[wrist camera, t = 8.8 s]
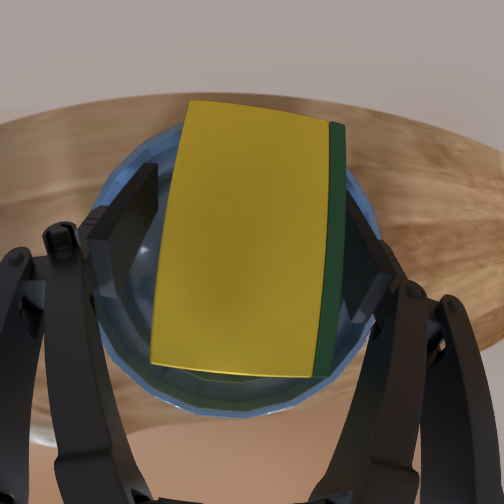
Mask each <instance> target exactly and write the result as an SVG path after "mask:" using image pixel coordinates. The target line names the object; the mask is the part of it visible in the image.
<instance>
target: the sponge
mask: <svg viewBox="0 0 504 504" xmlns="http://www.w3.org/2000/svg"><path fill="white" fill-rule="evenodd" d="M345 218H346V139H345V125H343V124H340V123H336V122H328V121H326V120H322V119H318V118H313V117H309V116H304V115H299V114H294V113H289V112H283V111H278V110H272V109H266V108H260V107H253V106H246V105H238V104H230V103H221V102H211V101H200V100H191V101H190V102H189V106H188V110H187V114H186V118H185V122H184V126H183V130H182V134H181V139H180V143H179V148H178V152H177V157H176V161H175V166H174V171H173V176H172V181H171V186H170V191H169V197H168V202H167V208H166V214H165V220H164V226H163V233H162V239H161V246H160V253H159V261H158V269H157V277H156V286H155V295H154V305H153V316H152V328H151V342H150V363H152V364H155V365H161V366H168V367H174V368H182V369H189V370H197V371H206V372H215V373H225V374H237V375H251V376H269V377H304V378H309V377H311V376H312V377H314V378H329V377H330V376H331V371H332V364H333V357H334V350H335V343H336V335H337V326H338V317H339V308H340V298H341V287H342V274H343V260H344V242H345Z"/></svg>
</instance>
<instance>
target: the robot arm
mask: <svg viewBox="0 0 504 504" xmlns="http://www.w3.org/2000/svg"><path fill="white" fill-rule="evenodd" d="M157 211H158V163H146V162H144V163H143V164H142V165H141V167H140V168H139V169H138V170H137V171H136V173H135V174H134V175H133V176H132V177H131V179H130V180H129V181H128V182H127V183H126V185H125V186H124V187H123V188H122V190H121V191H120V192H119V193H118V195H117V196H116V197H115V198H114V200H113V201H112V202H111V204H110V205H109V206H105V205H100V206H98V207H97V208H95V209H94V210H92V211H91V212H90V213H89V215H88V216H87V217H86V219H85V220H84V221H83V222H82V225H80V226H79V228H78V229H77V227H76V225H75V224H74V223H72V222H67V221H65V222H59V223H55V224H53V225H51V226H50V227H48V228H47V229H46V230H45V231H44V233H43V235H42V237H43V241H44V244H45V248H46V251H47V254H48V255H47V256H39V257H32V255H31V252H30V250H29V249H28V248H26V247H18V248H14V249H12V250H11V251H9V252H8V253H7V254H6V255H5V256H4V258H3V259H2V261H1V263H0V504H28V497H29V432H30V418H31V407H32V398H33V390H34V382H35V376H36V370H37V364H38V358H39V353H40V348H41V343H42V339H43V334H44V346H45V364H46V377H47V387H48V395H49V403H50V410H51V416H52V422H53V427H54V433H55V437H56V442H57V447H58V457H57V458H56V460H55V461H54V470H55V476H56V480H57V483H58V487H59V490H60V493H61V496H62V499H63V502H64V504H202V503H195V502H186V501H179V500H172V499H166V498H160V497H159V500H154V499H153V497H152V495H151V493H150V491H149V488H148V486H147V484H146V482H145V480H144V478H143V476H142V474H141V472H140V471H139V469H138V467H137V465H136V462H135V460H134V457H133V455H132V452H131V449H130V446H129V443H128V441H127V437H126V434H125V431H124V428H123V425H122V422H121V419H120V415H119V412H118V408H117V405H116V401H115V398H114V394H113V390H112V386H111V382H110V378H109V374H108V369H107V365H106V360H105V355H104V350H103V345H102V340H101V334H100V328H99V322H98V316H97V309H96V301H95V298H94V294H93V293H94V291H95V289H96V287H97V286H98V289H99V293H100V295H101V296H106V297H112V298H118V297H119V294H120V292H121V289H122V287H123V284H124V282H125V280H126V277H127V275H128V273H129V270H130V268H131V266H132V264H133V261H134V259H135V257H136V255H137V253H138V250H139V248H140V246H141V244H142V242H143V240H144V238H145V236H146V233H147V231H148V229H149V227H150V225H151V223H152V221H153V219H154V217H155V215H156V213H157ZM397 261H398V260H397V258H396V257H395V256H394V253H393V251H392V250H391V248H390V247H389V246H388V245H387V244H386V243H385V242H384V241H383V240H381V239H377V237H376V235H375V233H374V232H373V230H372V228H371V226H370V225H369V223H368V221H367V220H366V218H365V216H364V215H363V213H362V211H361V210H360V208H359V206H358V205H357V203H356V202H355V200H354V198H353V197H352V195H351V194H350V192H349V191H348V190H346V218H345V242H344V260H343V274H342V287H341V292H342V295H343V299H344V302H345V305H346V309H347V312H348V315H349V319H350V322H351V323H367V322H368V320H369V319H370V317H371V316H372V314H373V315H374V317H375V320H376V321H375V323H374V324H373V326H372V327H371V329H370V330H369V332H368V333H367V335H366V336H365V338H364V340H365V341H366V340H367V338H368V337H369V341H368V345H367V349H366V353H365V357H364V361H363V365H362V369H361V372H360V376H359V379H358V383H357V386H356V390H355V393H354V396H353V400H352V403H351V406H350V409H349V412H348V415H347V418H346V421H345V424H344V427H343V430H342V433H341V436H340V438H339V441H338V444H337V446H336V449H335V452H334V454H333V457H332V460H331V462H330V464H329V467H328V469H327V471H326V473H325V475H324V477H323V478H322V479H321V480H320V482H318V484H317V485H316V486H315V488H314V490H313V491H312V493H311V495H310V497H309V500H308V501H307V502H305V503H295V504H414V502H415V498H416V495H417V491H418V487H419V480H420V478H419V474H418V472H416V471H415V470H414V469H413V468H412V461H413V456H414V451H415V446H416V441H417V435H418V430H419V424H420V433H421V486H420V504H504V493H503V490H502V486H501V469H500V455H499V445H498V436H497V429H496V422H495V416H494V410H493V406H492V400H491V395H490V391H489V386H488V382H487V378H486V374H485V370H484V366H483V362H482V359H481V355H480V352H479V348H478V345H477V342H476V339H475V336H474V333H473V330H472V327H471V324H470V321H469V318H468V315H467V313H466V310H465V308H464V306H463V304H462V303H461V302H460V300H459V299H458V298H456V297H455V296H452V295H449V294H446V295H444V296H443V297H442V298H441V300H440V301H439V302H438V301H435V300H432V299H429V298H427V295H426V292H425V291H424V289H423V288H422V287H421V286H420V285H419V284H417V283H416V282H414V281H411V280H408V279H407V277H406V275H405V273H404V271H403V269H402V267H401V266H400V264H399V262H397ZM443 341H445V345H446V347H445V348H444V349H443V350H442V351H441V349H440V345H441V344H442V343H443Z"/></svg>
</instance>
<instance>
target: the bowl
mask: <svg viewBox="0 0 504 504" xmlns="http://www.w3.org/2000/svg"><path fill="white" fill-rule="evenodd" d="M184 122H185V121H184ZM184 122H182V123H180V124H178V125H176V126H174V127H172V128H170V129H168V130H166V131H164V132H162V133H160V134H158V135H156V136H154V137H152V138H150V139H148V140H146V141H144V142H143V143H142V144H141V145H140V146H139V147H138V148H137V149H135V150H134V151H133V152H132V153H131V154H130V155H129V156H128V157H127V158H126V159H125V160H124V161H123V162H122V163H121V164H120V165H119V166H118V167H117V168H116V169H115V170H114V171H113V172H112V173H111V174H110V176H109V177H108V179H107V181H106V183H105V184H104V186H103V188H102V190H101V192H100V194H99V196H98V198H97V199H96V201H95V203H94V205H93V207H92V209H91V211H92V210H94V209H95V208H97V207H98V206H100V205H105V206H109V205H110V204H111V202H112V201H113V200H114V198H115V197H116V196H117V195H118V193H119V192H120V191H121V190H122V188H123V187H124V186H125V185H126V183H127V182H128V181H129V180H130V179H131V177H132V176H133V175H134V174H135V173H136V171H137V170H138V169H139V168H140V167H141V165H142V164H143V163H144V162H146V163H158V211H157V213H156V215H155V217H154V219H153V221H152V223H151V225H150V227H149V229H148V231H147V233H146V236H145V238H144V240H143V242H142V244H141V246H140V248H139V250H138V253H137V255H136V257H135V259H134V261H133V264H132V266H131V268H130V270H129V273H128V275H127V277H126V280H125V282H124V284H123V287H122V289H121V292H120V294H119V297H118V298H112V297H106V296H101V295H100V293H99V289H98V286H97V287H96V289H95V291H94V293H93V294H94V298H95V301H96V309H97V316H98V322H99V328H100V334H101V340H102V343H103V345H104V347H105V349H106V351H107V352H108V354H109V356H110V358H111V359H112V360H113V361H114V362H115V363H116V364H117V365H118V366H119V367H120V368H121V369H122V370H123V371H124V372H125V373H126V374H127V375H128V376H129V377H130V378H131V379H132V380H134V381H135V382H136V383H137V384H138V385H139V386H140V387H141V388H143V389H144V390H145V391H146V392H147V393H148V394H150V395H152V396H154V397H156V398H158V399H160V400H163V401H165V402H167V403H169V404H171V405H174V406H176V407H178V408H181V409H183V410H185V411H188V412H190V413H193V414H196V415H203V416H213V417H225V418H240V419H245V418H246V419H247V418H252V417H256V416H260V415H265V414H269V413H273V412H277V411H280V410H284V409H288V408H291V407H293V406H296V405H298V404H299V403H301V402H303V401H304V400H306V399H308V398H309V397H311V396H312V395H314V394H315V393H317V392H319V391H320V390H322V389H323V388H325V387H326V386H328V385H329V384H331V383H332V382H334V380H336V379H337V377H338V376H339V375H340V374H341V373H342V372H343V370H344V369H345V368H346V367H347V366H348V364H349V363H350V362H351V361H352V359H353V358H354V357H355V356H356V354H357V353H358V352H359V351H360V349H361V348H362V347H363V345H364V343H365V342H366V341H365V340H364V338H365V336H366V335H367V333H368V332H369V330H370V329H371V327H372V325H373V322H374V320H375V317H374V315H373V314H372V316H371V317H370V319H369V320H368V322H367V323H351V322H350V319H349V315H348V312H347V309H346V305H345V302H344V299H343V295H342V292H341V298H340V308H339V317H338V326H337V335H336V343H335V350H334V357H333V364H332V371H331V376H330V377H329V378H314V377H312V376H311V377H309V378H304V377H269V376H251V375H237V374H225V373H215V372H206V371H197V370H189V369H182V368H174V367H168V366H161V365H155V364H152V363H150V342H151V328H152V316H153V305H154V295H155V286H156V277H157V269H158V261H159V253H160V246H161V239H162V233H163V226H164V220H165V214H166V208H167V202H168V197H169V191H170V186H171V181H172V176H173V171H174V166H175V161H176V157H177V152H178V148H179V143H180V139H181V134H182V130H183V126H184ZM346 190H348V191H349V192H350V194H351V195H352V197H353V198H354V200H355V202H356V203H357V205H358V206H359V208H360V210H361V211H362V213H363V215H364V216H365V218H366V220H367V221H368V223H369V225H370V226H371V228H372V230H373V232H374V233H375V235H376V237H377V239H381V235H380V231H379V227H378V223H377V219H376V215H375V212H374V210H373V209H374V208H373V207H372V205H371V203H370V201H369V200H368V198H367V196H366V195H365V193H364V191H363V189H362V188H361V186H360V185H359V183H358V181H357V180H356V178H355V176H354V175H353V173H352V172H351V171H350V169H349V168H348V167H347V166H346ZM91 211H90V212H91ZM381 240H382V239H381Z"/></svg>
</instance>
